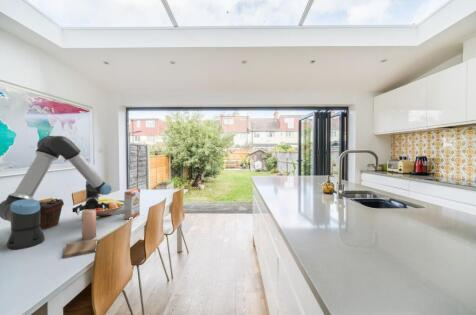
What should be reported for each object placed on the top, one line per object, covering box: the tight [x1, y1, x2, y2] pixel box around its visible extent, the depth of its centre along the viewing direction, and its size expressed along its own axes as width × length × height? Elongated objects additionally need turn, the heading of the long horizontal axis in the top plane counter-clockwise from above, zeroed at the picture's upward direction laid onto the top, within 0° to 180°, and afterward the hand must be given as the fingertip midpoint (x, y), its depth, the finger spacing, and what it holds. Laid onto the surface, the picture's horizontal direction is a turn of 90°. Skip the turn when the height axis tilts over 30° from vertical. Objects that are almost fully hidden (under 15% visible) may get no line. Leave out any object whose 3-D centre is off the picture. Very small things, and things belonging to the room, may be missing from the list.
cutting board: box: [62, 238, 98, 259], centre depth 117 cm, size 14×14×2 cm
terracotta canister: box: [81, 209, 97, 241], centre depth 132 cm, size 7×7×16 cm
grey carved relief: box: [110, 206, 124, 216], centre depth 186 cm, size 16×25×7 cm, turn 125°
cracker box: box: [123, 188, 141, 220], centre depth 172 cm, size 14×6×21 cm, turn 179°
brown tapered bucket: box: [39, 198, 65, 230], centre depth 150 cm, size 18×20×18 cm
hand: (91, 211), depth 141 cm, fingers open, 13 cm apart
